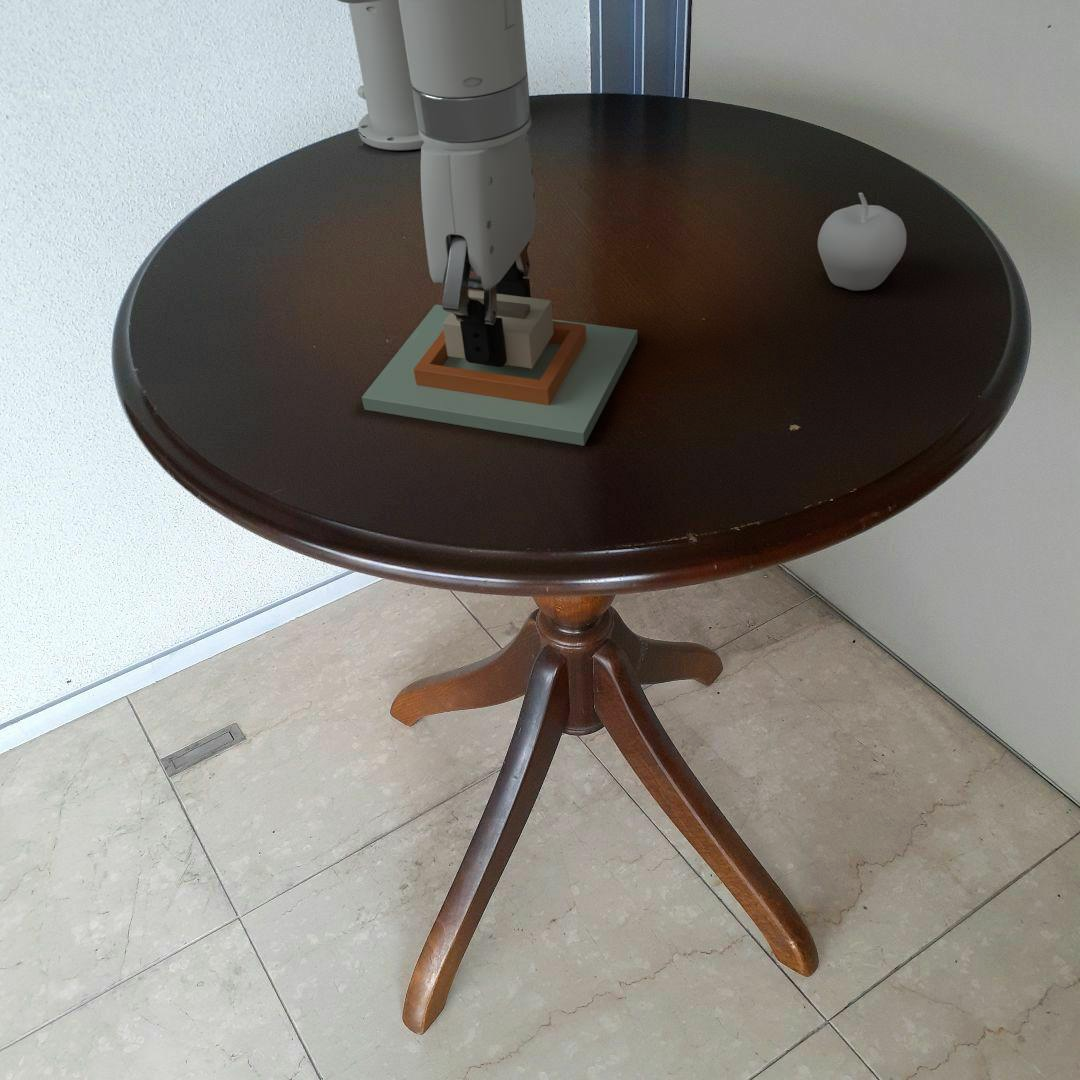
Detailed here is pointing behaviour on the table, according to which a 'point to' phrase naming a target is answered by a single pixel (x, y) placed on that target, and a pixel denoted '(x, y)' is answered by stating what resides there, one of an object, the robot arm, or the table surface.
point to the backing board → (506, 382)
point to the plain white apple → (861, 245)
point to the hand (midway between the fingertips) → (499, 340)
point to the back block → (510, 328)
